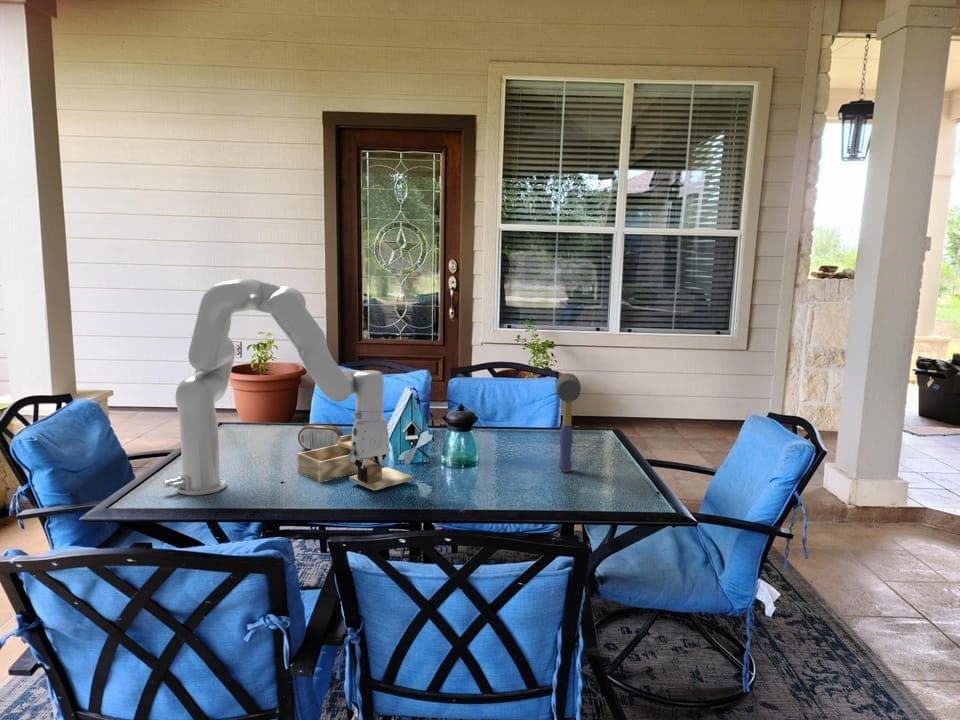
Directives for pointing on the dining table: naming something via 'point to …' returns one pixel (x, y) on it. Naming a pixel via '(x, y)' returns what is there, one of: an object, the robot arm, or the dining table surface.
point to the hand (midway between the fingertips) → (369, 478)
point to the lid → (380, 476)
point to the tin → (318, 436)
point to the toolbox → (328, 461)
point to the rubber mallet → (567, 416)
